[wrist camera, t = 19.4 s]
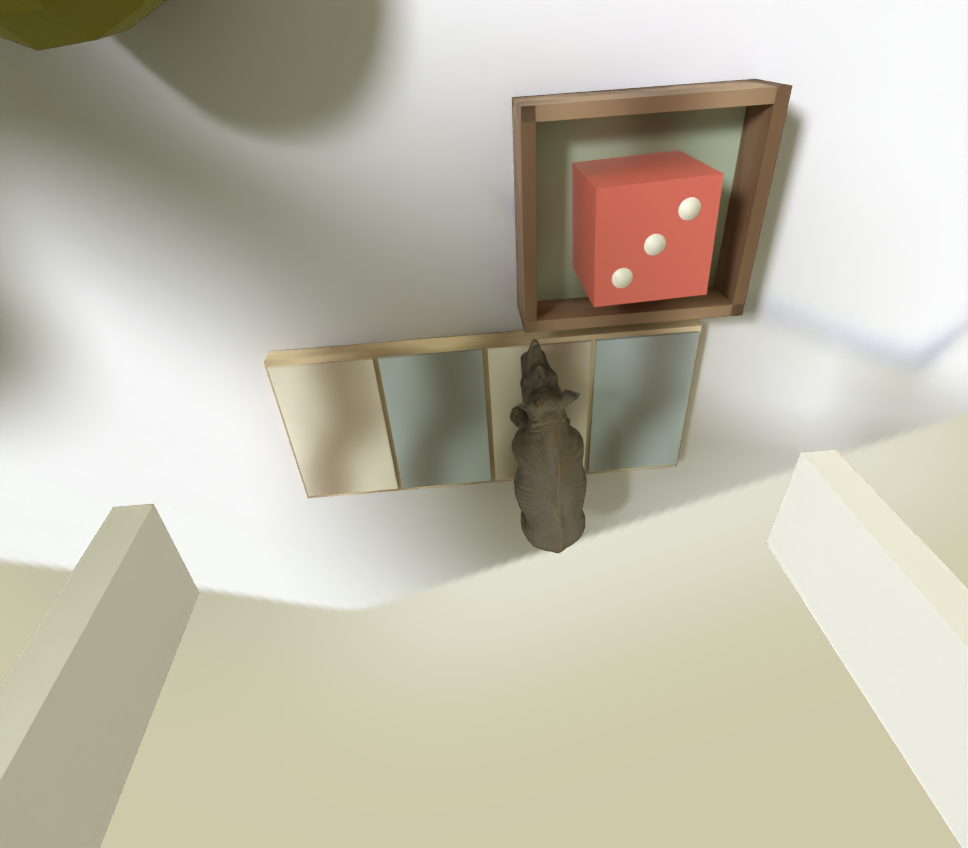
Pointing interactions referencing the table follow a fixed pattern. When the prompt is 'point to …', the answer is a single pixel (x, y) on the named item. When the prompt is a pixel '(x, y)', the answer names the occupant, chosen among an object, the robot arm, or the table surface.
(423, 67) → the table surface
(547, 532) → the rhino figurine
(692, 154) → the dice tray
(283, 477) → the table surface
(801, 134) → the table surface
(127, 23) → the apple
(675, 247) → the die
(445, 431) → the board
